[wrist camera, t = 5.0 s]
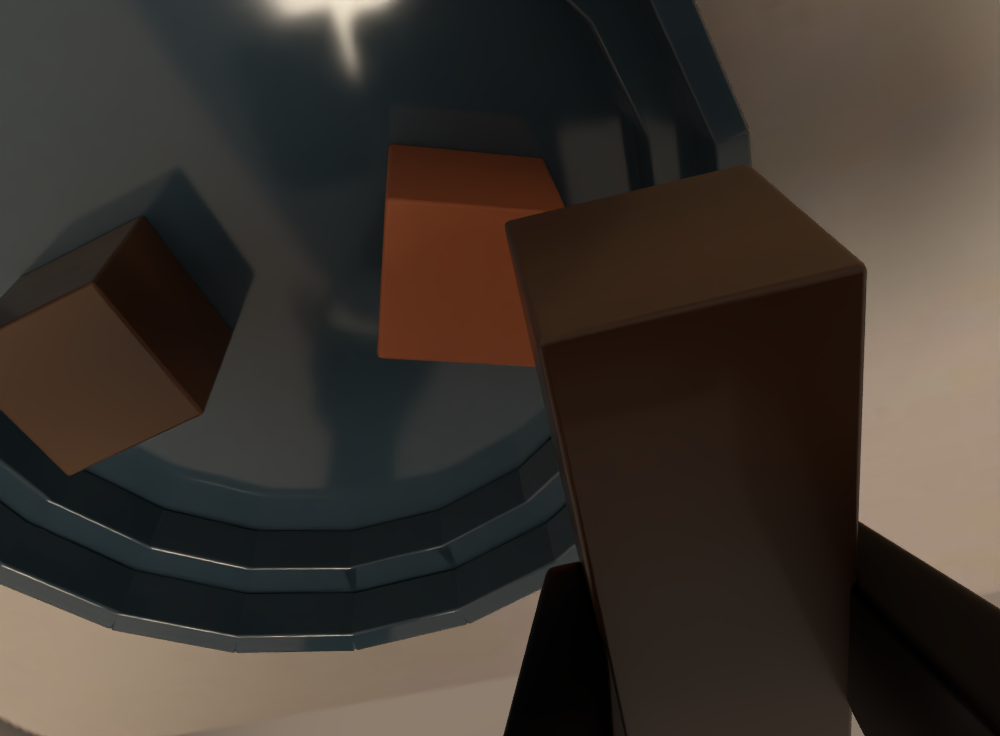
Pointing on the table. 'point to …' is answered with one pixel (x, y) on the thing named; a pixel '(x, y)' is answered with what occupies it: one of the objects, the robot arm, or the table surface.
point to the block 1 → (107, 348)
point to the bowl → (316, 295)
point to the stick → (706, 444)
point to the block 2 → (456, 254)
